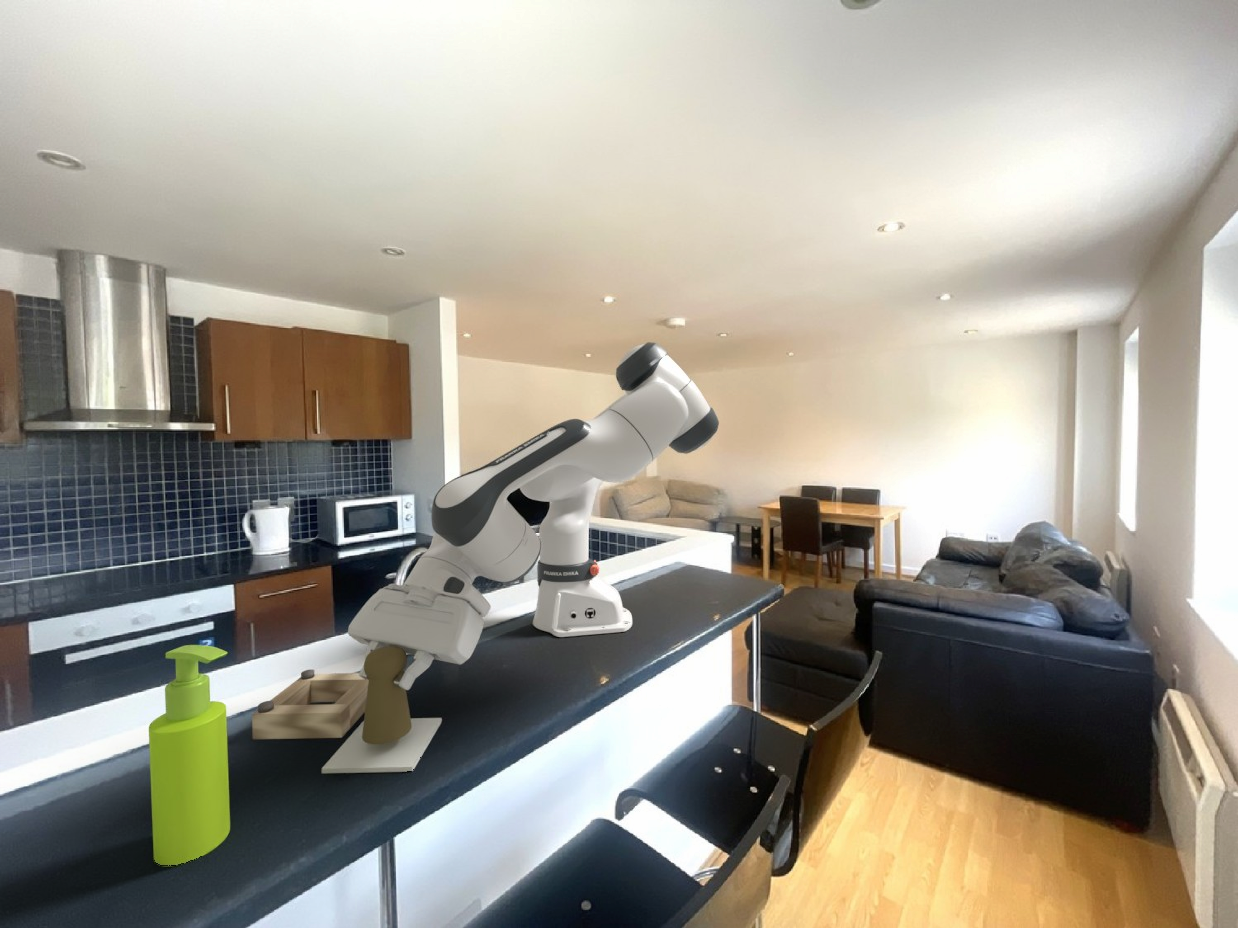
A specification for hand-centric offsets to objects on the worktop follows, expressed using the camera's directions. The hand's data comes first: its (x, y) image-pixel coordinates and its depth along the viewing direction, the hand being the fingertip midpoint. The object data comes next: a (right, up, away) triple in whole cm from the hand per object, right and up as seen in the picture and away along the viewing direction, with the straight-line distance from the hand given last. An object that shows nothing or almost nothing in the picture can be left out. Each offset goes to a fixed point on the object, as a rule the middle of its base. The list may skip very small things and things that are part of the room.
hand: (382, 683), depth 66 cm
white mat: (0, -9, +1) cm, 9 cm away
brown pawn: (0, -7, +1) cm, 7 cm away
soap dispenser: (-11, -10, -15) cm, 21 cm away
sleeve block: (-13, -9, +9) cm, 18 cm away
